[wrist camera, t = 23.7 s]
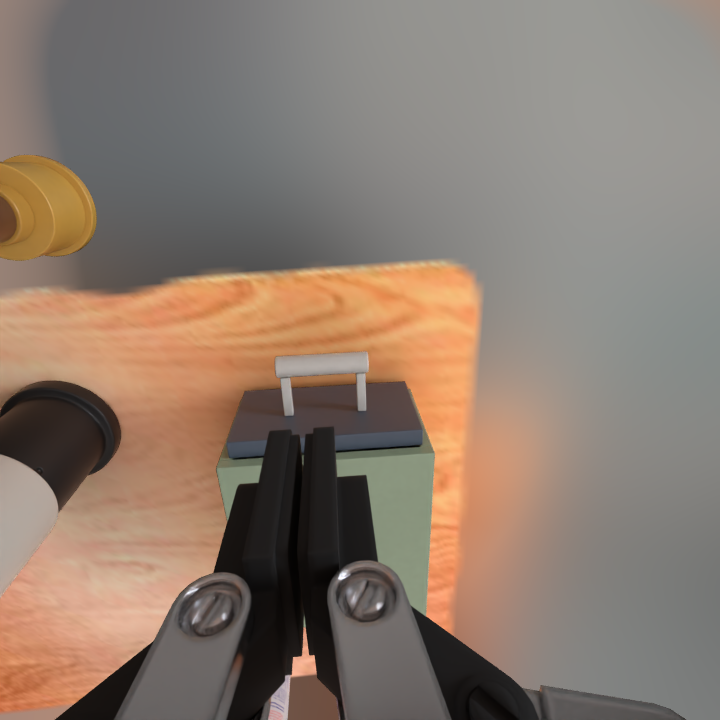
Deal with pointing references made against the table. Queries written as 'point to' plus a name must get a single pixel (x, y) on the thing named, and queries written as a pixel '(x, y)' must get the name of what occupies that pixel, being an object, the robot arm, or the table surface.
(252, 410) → the drawer
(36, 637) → the table surface
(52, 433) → the light fixture
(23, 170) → the bell
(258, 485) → the robot arm
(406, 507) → the cabinet
